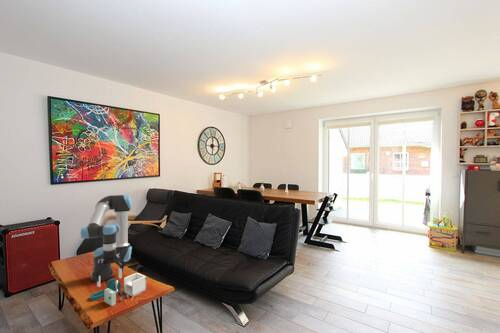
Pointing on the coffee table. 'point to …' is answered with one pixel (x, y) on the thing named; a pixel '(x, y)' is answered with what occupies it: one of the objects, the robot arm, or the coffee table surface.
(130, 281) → the cabinet
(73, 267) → the coffee table surface
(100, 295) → the bracket
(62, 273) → the coffee table surface
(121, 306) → the coffee table surface
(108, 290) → the door
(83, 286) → the coffee table surface
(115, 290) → the small parts
